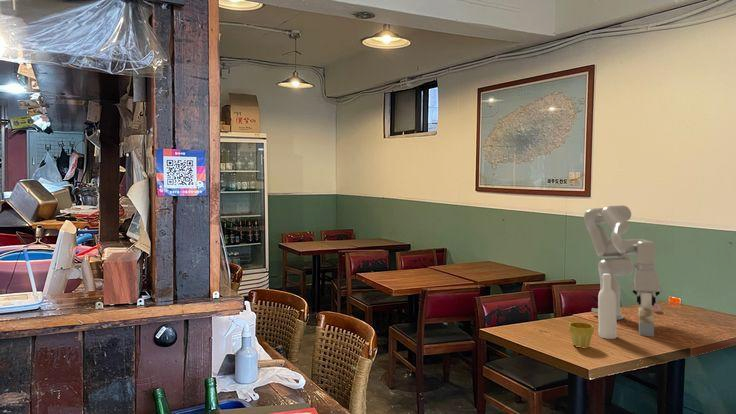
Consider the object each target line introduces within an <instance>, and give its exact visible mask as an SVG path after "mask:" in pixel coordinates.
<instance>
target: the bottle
mask: <svg viewBox="0 0 736 414" xmlns="http://www.w3.org/2000/svg"><path fill="white" fill-rule="evenodd" d="M602 278H603V289H602V290H599V292H598V297H597V301H598V302H597V306H598V307H597V309H598V313H597V317H598V337H599V338H600V339H604V338H605V339H606V340H616V338H617V336H618V335H617V334H618V329H617V325H618V323H617V321H618V320H616V295H615V292H614V291H613V290H612V289H611V274H603V276H602Z"/></svg>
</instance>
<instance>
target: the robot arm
mask: <svg viewBox="0 0 736 414" xmlns="http://www.w3.org/2000/svg"><path fill="white" fill-rule="evenodd" d="M631 211H632V210H631V209H630V208H629V207H628V206H627V205H608V206H605V207H598V208H596V207H595V208H590V209H588V210H586V211H585V212H584V216H583V222H584V226H585V228H586V231H588V233H589V235H590V237H591V241H592V245H593V247H594V250H595V252H596V253H595V254H596V255H597V256H598V258H599V257H600V258H604V259H602V260H600V261H598V264H597V269H598V274H599V275H598V276H599V282H600V284H599V285H600V287H599V288H600V290H602V289H603V278H602V276H603V274H611V289H612V290H613V291H614V292H615V295H616V321H619V320H623V319H624V318H625V317H624V315H623V314H622V313H621V285H620V284H621V283H620V282H619V280H618V279H617V277H621V276H622V277H625V276H630V275H632V274H633V273H634V275H633V283H631V285H630V286H629V287H628V290H629V291H631V292H632V293H633V294H634V295H636V303H637V304H638V305H639V306H640V305H641V297H640V292H641V291H651V292H652V305H653V306H654V304H655V303H656V304H657V301H656V298H657V297H658V295H660V294H661V293H663V292H664V291H665V289H664V288H663V287H662V285H660V284H659V276H658V275H659V273H658V271H657V269H656V260H655V259H656V249H655V248H656V246H655V245H656V244H655V242H654V241H651V240H647V239H644V238H625V239H624V238H623V237H622V235H624V234H625V233H627V231H629V229H630V223H629V220H630V219H631V218H632V212H631ZM600 224H607V226H608V227H609V228H610V230H611V234H610V237H609V234H608V231H607V230H606V229H605V228H604V227H603V226H602V225H600ZM631 255H636V263H633V261H632V258H631ZM634 268H635V269H634ZM600 290H599V291H600ZM653 306H652V307H653ZM591 312H593V313H595V314H598V308H594V307H592V308H591Z"/></svg>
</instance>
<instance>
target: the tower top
mask: <svg viewBox="0 0 736 414" xmlns="http://www.w3.org/2000/svg"><path fill="white" fill-rule="evenodd" d="M639 322H640V323H650V324H654V325H655V310H654V307H650V308H646V307H641V306H638V323H639Z"/></svg>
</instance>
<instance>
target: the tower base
mask: <svg viewBox="0 0 736 414" xmlns="http://www.w3.org/2000/svg"><path fill="white" fill-rule="evenodd" d="M638 332H639V333H638V334H639V336H647V337H655V323H654V324H650V323H640V322H639V321H638Z"/></svg>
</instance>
